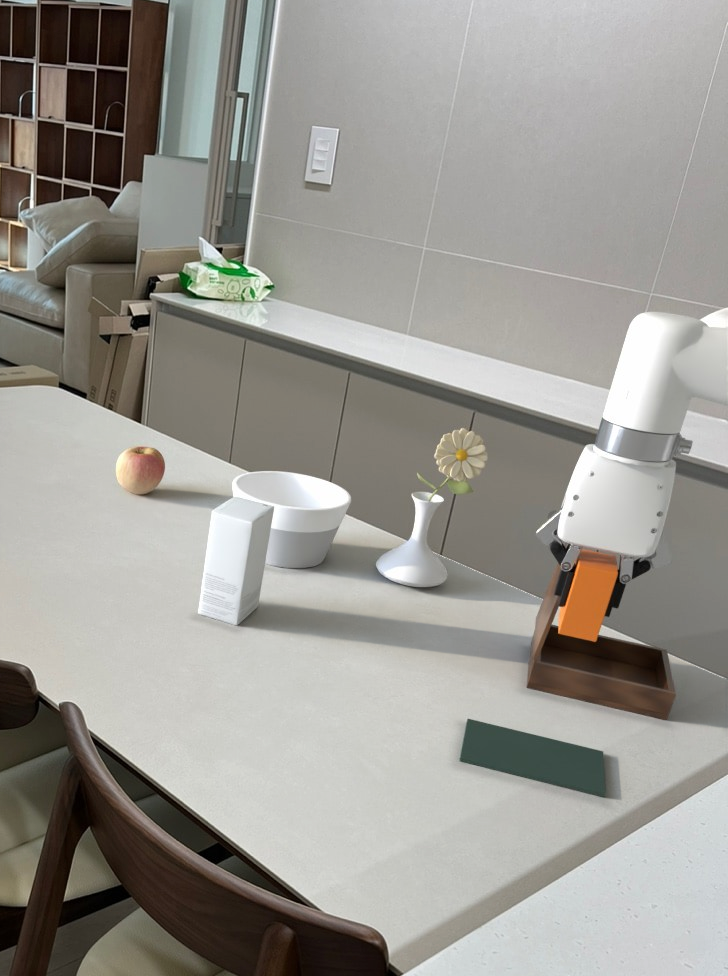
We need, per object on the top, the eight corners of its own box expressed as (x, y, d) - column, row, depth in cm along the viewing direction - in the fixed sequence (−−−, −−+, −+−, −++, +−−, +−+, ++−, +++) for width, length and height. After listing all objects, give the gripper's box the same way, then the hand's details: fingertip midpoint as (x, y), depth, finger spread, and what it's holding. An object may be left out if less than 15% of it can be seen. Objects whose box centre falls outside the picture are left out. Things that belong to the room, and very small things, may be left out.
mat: (602, 754, 126) (603, 751, 125) (604, 797, 117) (605, 793, 117) (466, 721, 129) (467, 718, 129) (459, 761, 121) (460, 757, 120)
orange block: (595, 622, 119) (616, 555, 115) (596, 642, 114) (618, 573, 110) (558, 614, 120) (578, 547, 116) (558, 633, 115) (578, 565, 111)
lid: (588, 497, 141) (555, 488, 142) (590, 529, 128) (554, 519, 129) (539, 619, 150) (509, 610, 151) (537, 660, 137) (503, 650, 138)
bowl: (360, 573, 170) (372, 509, 165) (250, 576, 163) (260, 510, 158) (309, 530, 185) (320, 470, 180) (207, 532, 179) (215, 470, 174)
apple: (166, 489, 197) (171, 446, 194) (154, 502, 190) (159, 459, 186) (122, 481, 199) (125, 439, 195) (108, 494, 191) (111, 450, 187)
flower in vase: (368, 583, 166) (401, 425, 154) (379, 560, 176) (411, 410, 164) (452, 602, 163) (491, 442, 151) (458, 577, 173) (496, 425, 161)
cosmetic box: (220, 596, 155) (234, 494, 148) (261, 608, 153) (277, 505, 146) (195, 615, 148) (209, 508, 141) (238, 627, 146) (254, 520, 139)
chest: (658, 673, 148) (667, 649, 146) (666, 720, 135) (676, 694, 134) (530, 645, 152) (537, 621, 150) (526, 687, 139) (534, 662, 138)
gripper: (718, 449, 108) (661, 612, 117) (551, 419, 112) (507, 579, 121) (727, 467, 102) (665, 637, 111) (549, 435, 106) (504, 602, 114)
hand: (583, 605), depth 116 cm, fingers closed on orange block, 4 cm apart
